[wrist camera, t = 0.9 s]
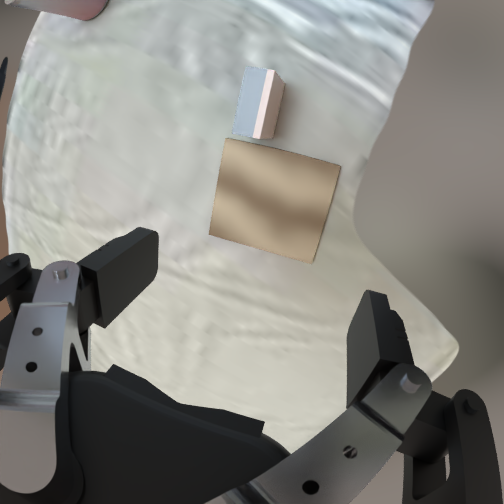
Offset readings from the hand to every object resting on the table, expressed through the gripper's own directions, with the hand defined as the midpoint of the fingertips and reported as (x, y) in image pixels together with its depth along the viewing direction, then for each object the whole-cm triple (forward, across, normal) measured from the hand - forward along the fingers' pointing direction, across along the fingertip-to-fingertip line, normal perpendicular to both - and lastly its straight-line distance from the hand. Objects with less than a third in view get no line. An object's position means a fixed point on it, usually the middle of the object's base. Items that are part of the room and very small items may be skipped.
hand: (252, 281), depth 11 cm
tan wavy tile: (+21, +3, +3) cm, 21 cm away
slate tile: (+21, +5, -7) cm, 23 cm away
